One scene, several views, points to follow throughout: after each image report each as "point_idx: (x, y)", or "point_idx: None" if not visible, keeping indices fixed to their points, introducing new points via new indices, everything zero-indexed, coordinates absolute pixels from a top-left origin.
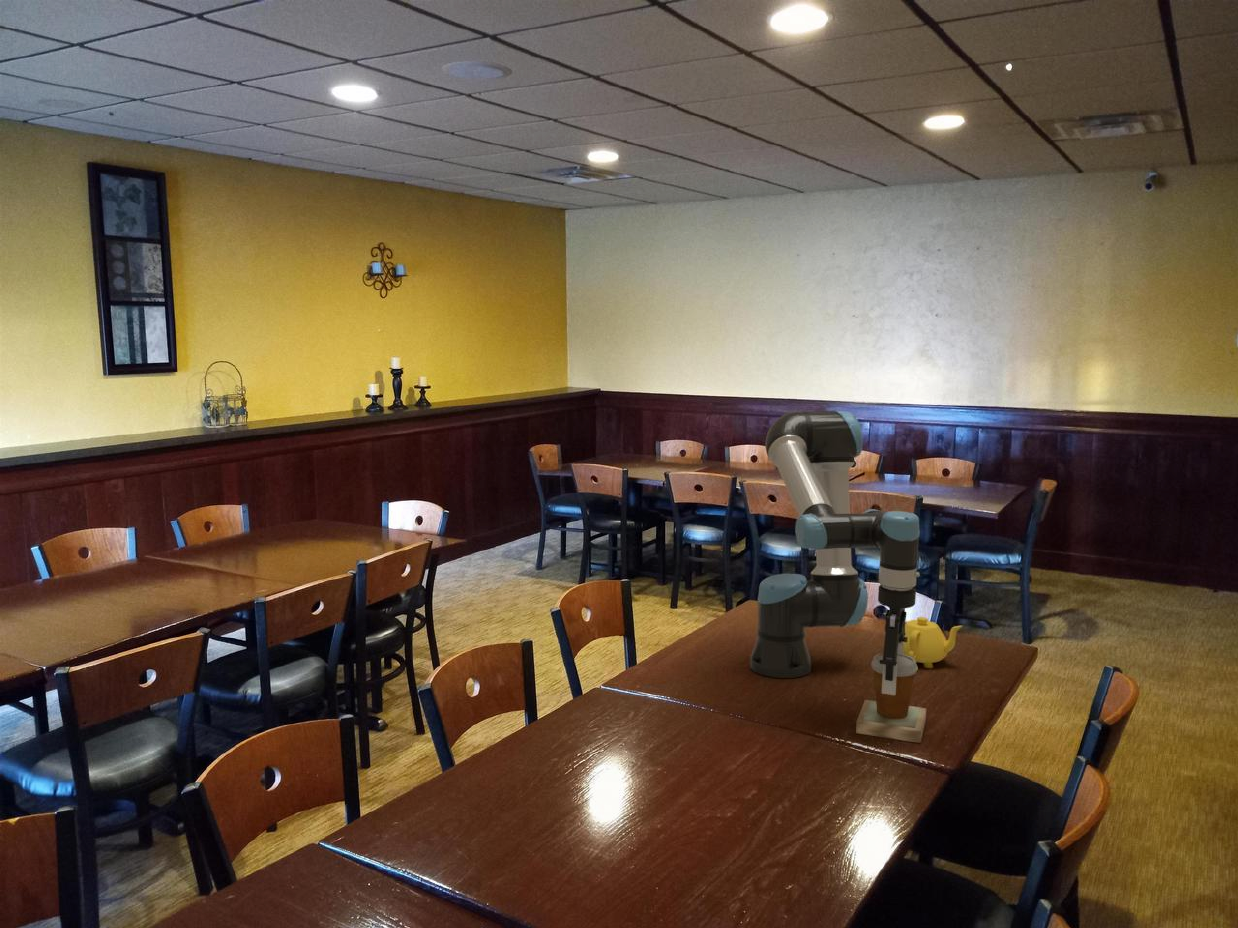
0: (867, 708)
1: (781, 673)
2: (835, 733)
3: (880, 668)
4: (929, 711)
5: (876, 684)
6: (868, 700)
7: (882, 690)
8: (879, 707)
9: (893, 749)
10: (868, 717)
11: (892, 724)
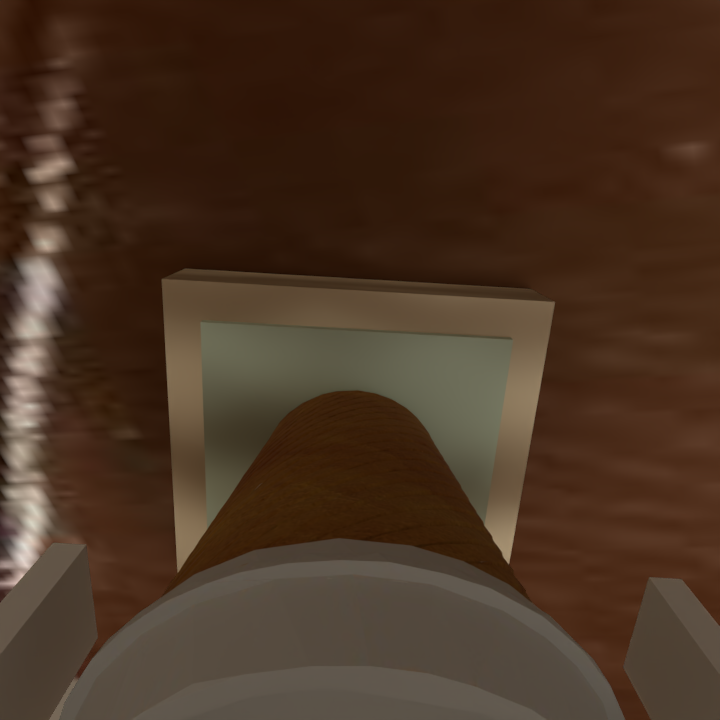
0: (405, 327)
1: None
2: (126, 150)
3: (91, 692)
4: (590, 583)
5: (255, 490)
6: (545, 322)
7: (34, 567)
8: (281, 427)
9: (68, 457)
10: (234, 347)
11: (207, 475)
